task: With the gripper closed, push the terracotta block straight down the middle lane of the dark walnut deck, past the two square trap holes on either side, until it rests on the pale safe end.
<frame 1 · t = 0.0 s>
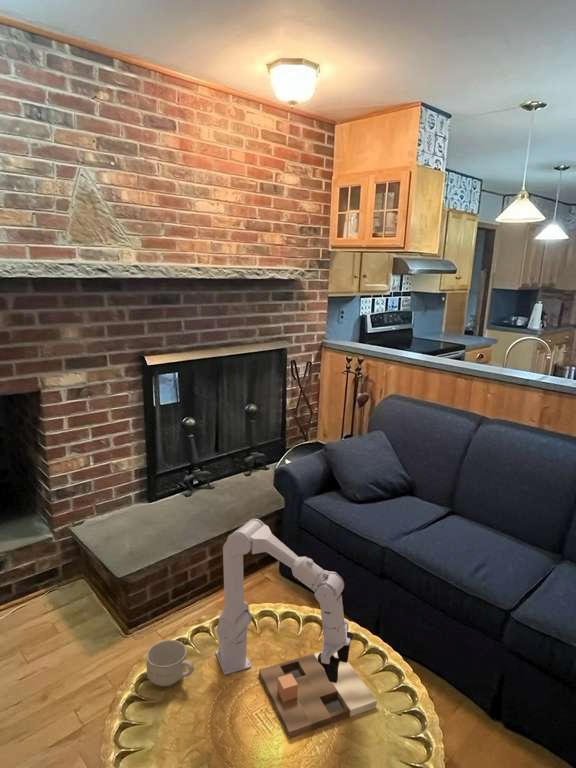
hand: (338, 671, 126), 11 cm above the table, tool pointing down, fingers open, 7 cm apart
teacup: (170, 680, 135), on the table
block: (287, 694, 129), point 2 cm above the table, touching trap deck
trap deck: (315, 691, 133), on the table
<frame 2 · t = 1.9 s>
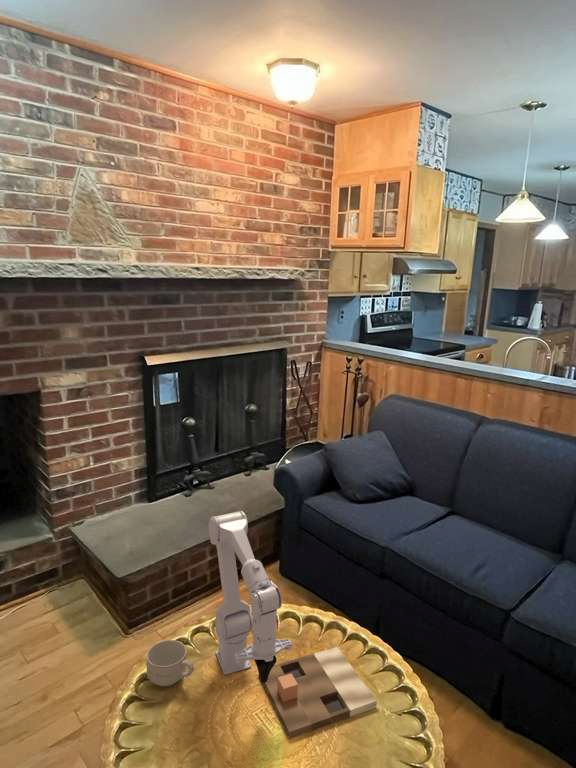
hand: (263, 679, 125), 9 cm above the table, tool pointing down, fingers closed
nothing on the table moved.
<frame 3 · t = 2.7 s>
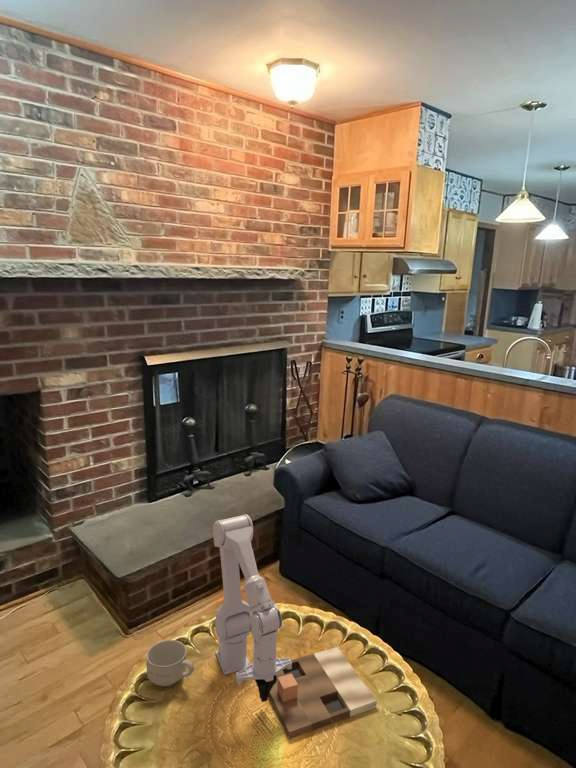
hand: (263, 698, 126), 3 cm above the table, tool pointing down, fingers closed
nothing on the table moved.
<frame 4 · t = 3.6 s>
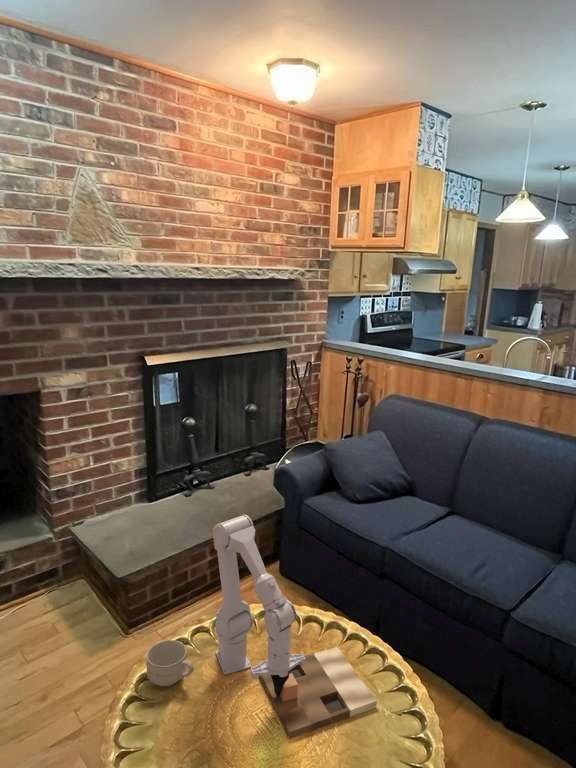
hand: (277, 693, 128), 3 cm above the table, tool pointing down, fingers closed, pressing on block
block: (287, 693, 129), point 2 cm above the table, touching gripper, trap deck
everything else where it was.
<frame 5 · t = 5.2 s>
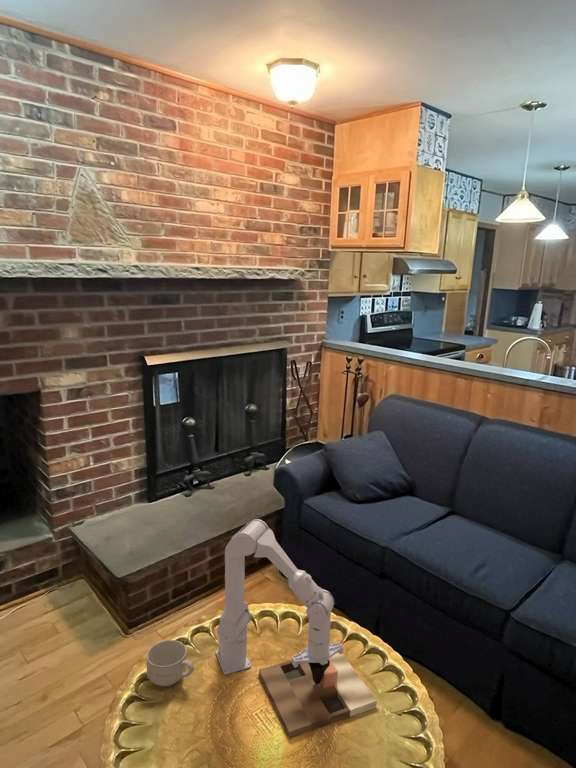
hand: (316, 681, 132), 3 cm above the table, tool pointing down, fingers closed
block: (327, 680, 134), point 2 cm above the table, touching gripper
everything else where it was.
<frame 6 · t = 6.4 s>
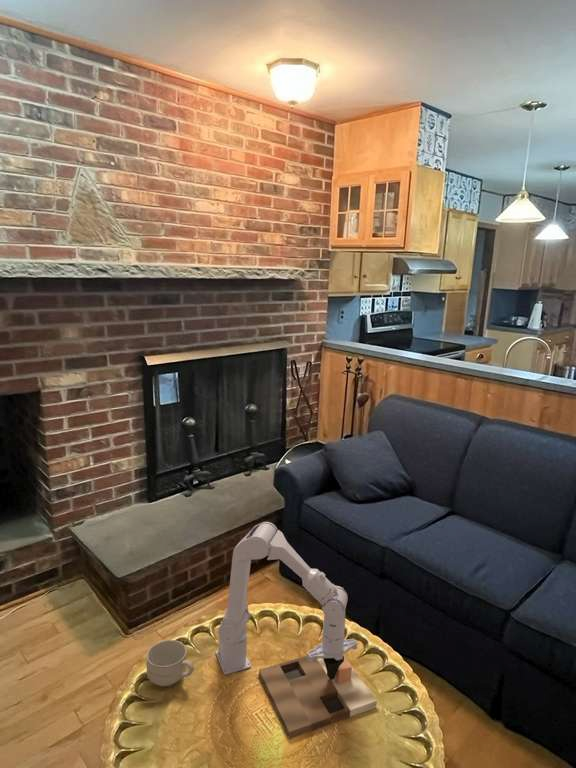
hand: (330, 676, 134), 3 cm above the table, tool pointing down, fingers closed
block: (341, 676, 136), point 2 cm above the table, touching gripper, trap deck
everything else where it was.
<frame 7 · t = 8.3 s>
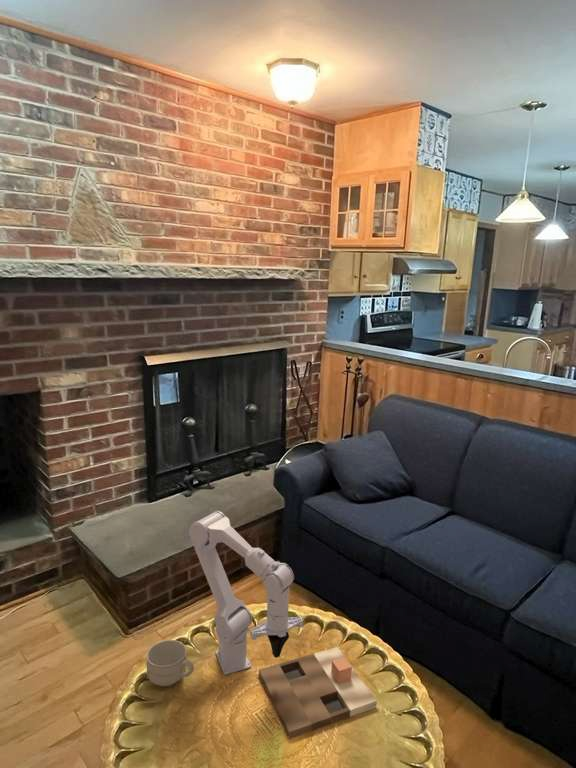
hand: (275, 654, 133), 9 cm above the table, tool pointing down, fingers closed
block: (341, 676, 136), point 2 cm above the table, touching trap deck
everything else where it was.
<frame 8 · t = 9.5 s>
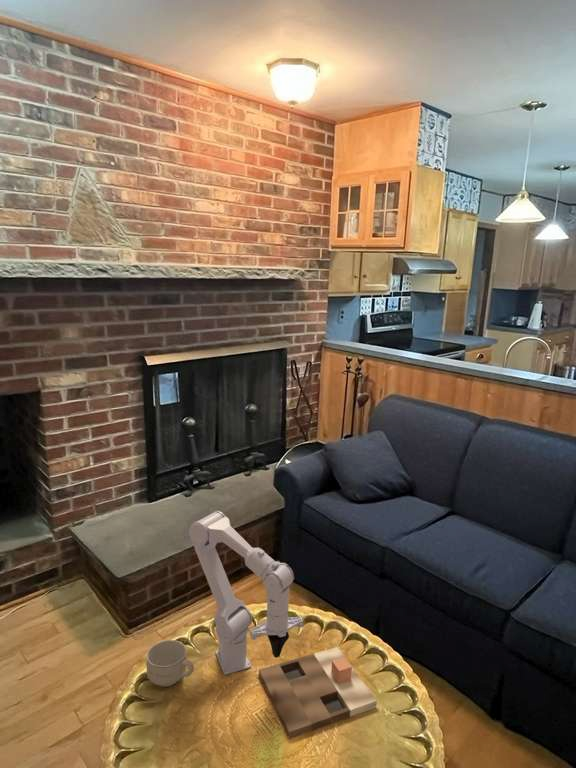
hand: (275, 654, 133), 9 cm above the table, tool pointing down, fingers closed
nothing on the table moved.
at the end: block inside the target area (0.2 cm from its centre), point 2.0 cm above the table; block tilted 0°; block moved 16.3 cm from its start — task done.
